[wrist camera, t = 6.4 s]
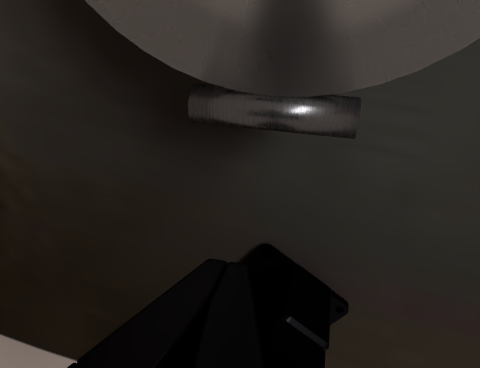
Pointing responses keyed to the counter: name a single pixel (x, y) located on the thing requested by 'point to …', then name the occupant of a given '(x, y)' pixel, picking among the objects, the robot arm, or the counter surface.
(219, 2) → the lid
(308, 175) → the counter surface
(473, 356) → the counter surface
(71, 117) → the counter surface
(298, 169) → the counter surface
